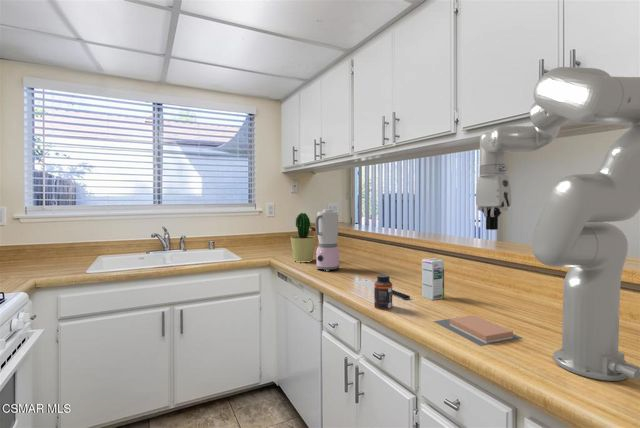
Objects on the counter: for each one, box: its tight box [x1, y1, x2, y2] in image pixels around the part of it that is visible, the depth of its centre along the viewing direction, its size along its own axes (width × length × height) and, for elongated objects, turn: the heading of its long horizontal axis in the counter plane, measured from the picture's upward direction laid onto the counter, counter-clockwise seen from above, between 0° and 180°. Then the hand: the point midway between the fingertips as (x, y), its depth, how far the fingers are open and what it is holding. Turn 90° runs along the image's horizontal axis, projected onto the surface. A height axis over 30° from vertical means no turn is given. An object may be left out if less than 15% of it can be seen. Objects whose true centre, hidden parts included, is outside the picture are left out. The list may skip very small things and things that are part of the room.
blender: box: [315, 209, 340, 272], centre depth 177 cm, size 16×12×32 cm
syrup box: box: [421, 257, 445, 301], centre depth 125 cm, size 6×6×14 cm
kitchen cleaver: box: [352, 279, 411, 301], centre depth 136 cm, size 31×2×10 cm
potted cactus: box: [290, 212, 317, 261], centre depth 203 cm, size 15×15×30 cm
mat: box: [433, 318, 523, 347], centre depth 93 cm, size 18×14×1 cm
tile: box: [449, 314, 514, 343], centre depth 91 cm, size 2×9×13 cm
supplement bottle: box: [373, 273, 393, 311], centre depth 113 cm, size 6×6×11 cm
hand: (491, 229), depth 107 cm, fingers closed
